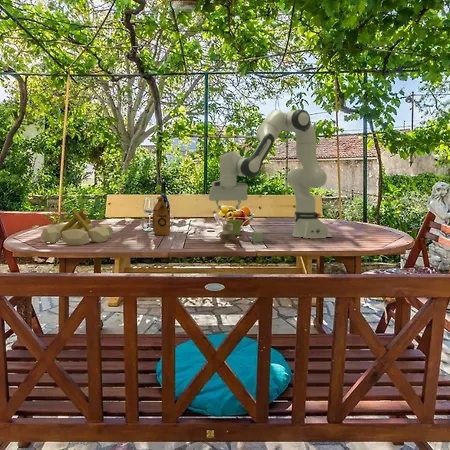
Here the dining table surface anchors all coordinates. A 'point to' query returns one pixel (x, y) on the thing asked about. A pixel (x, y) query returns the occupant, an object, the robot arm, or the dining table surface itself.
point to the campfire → (77, 231)
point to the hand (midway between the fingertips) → (228, 209)
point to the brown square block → (227, 237)
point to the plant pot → (236, 226)
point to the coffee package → (161, 218)
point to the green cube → (257, 236)
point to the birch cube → (227, 228)
